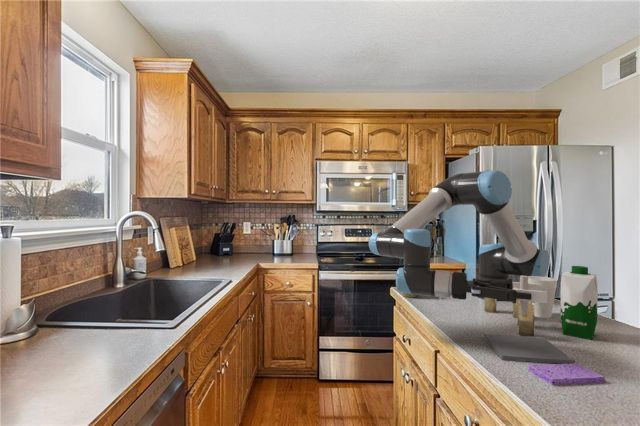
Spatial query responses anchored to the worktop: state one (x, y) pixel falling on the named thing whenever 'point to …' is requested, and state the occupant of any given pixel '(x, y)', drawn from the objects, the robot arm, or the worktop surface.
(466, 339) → the worktop surface
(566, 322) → the milk carton
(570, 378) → the sponges
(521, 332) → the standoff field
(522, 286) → the pipe connector
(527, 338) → the rubber mat
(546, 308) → the foam cup
